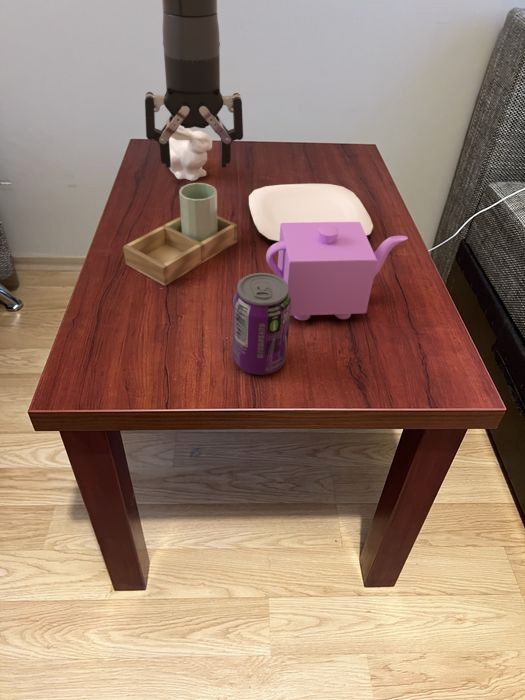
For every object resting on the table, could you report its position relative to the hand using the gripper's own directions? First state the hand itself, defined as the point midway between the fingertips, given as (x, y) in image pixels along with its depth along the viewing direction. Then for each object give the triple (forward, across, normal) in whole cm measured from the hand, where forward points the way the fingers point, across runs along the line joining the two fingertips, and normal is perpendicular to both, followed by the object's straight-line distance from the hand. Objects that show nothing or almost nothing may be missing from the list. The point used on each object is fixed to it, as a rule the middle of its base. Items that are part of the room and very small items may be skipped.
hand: (196, 165), depth 84 cm
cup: (+13, 0, 0) cm, 13 cm away
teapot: (+14, +19, -18) cm, 30 cm away
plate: (+14, +21, +8) cm, 26 cm away
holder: (+14, -3, -3) cm, 14 cm away
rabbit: (+14, -1, +27) cm, 30 cm away
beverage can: (+14, +7, -30) cm, 34 cm away
